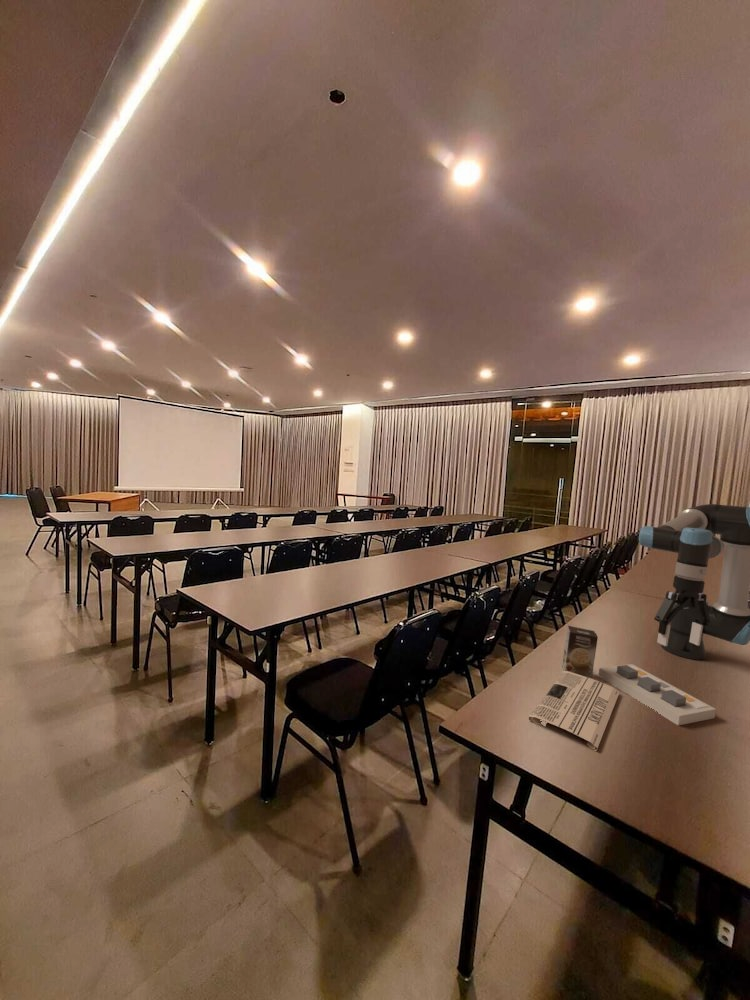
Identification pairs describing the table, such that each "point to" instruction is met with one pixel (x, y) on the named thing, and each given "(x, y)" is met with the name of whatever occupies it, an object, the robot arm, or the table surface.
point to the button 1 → (627, 672)
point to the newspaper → (577, 706)
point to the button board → (659, 697)
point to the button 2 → (673, 698)
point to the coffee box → (579, 651)
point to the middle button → (649, 684)
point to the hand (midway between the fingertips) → (678, 644)
